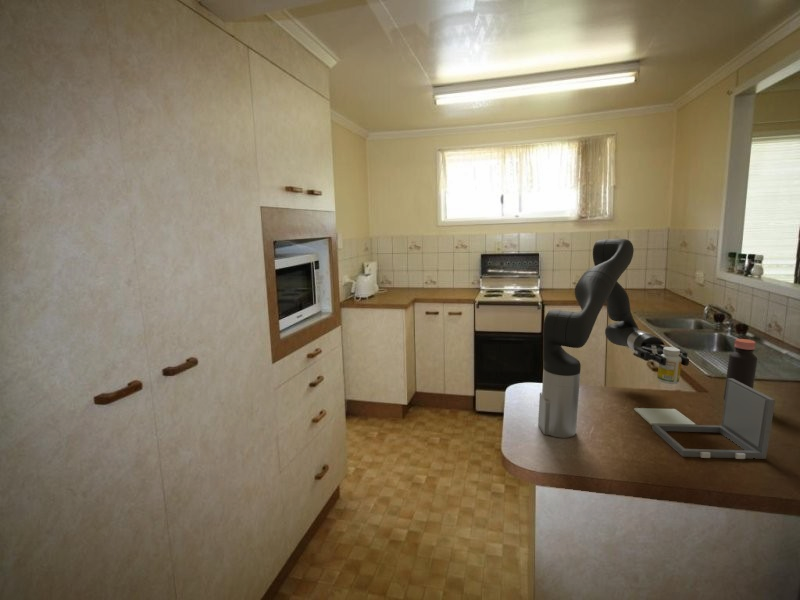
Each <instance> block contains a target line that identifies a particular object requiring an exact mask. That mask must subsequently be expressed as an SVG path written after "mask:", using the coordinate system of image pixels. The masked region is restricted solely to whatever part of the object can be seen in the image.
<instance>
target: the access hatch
mask: <svg viewBox="0 0 800 600" xmlns="http://www.w3.org/2000/svg"><path fill="white" fill-rule="evenodd" d="M775 404H776V399H774V398H772V397H770V396H769V395H767V394H764V393H762V392H761V391H759V390H757V389H755V388H754V387H753V388H751V387H749V386H747V385H745V384H743V383H741V382H739V381H737V380H735V379H733V378H728V380H727V387H726V395H725V400H724V404H723V411H722V417H721V423H720V425H712V424H710V425H709V424H703V425H702V424H696V425H675V424H653V425H651V429H652V430H653V431H654V433H656V434H657V435H658V436H659V437H660V438H661V439H662V440H663V441H665V442H666V443H667V444H668V445H669V446H670V447H671V448H673V450H675V451H676V452H677V453H678V454H679V455H680V456H681V457H683V458H684V457H687V458H701V459H703V458H704V459H711V458H716V459H717V458H719V459H720V458H721V459H726V458H727V459H737V460H745V459H753V458H755V459H756V460H757V459H758V460H760V459H762V460H766V459H767V454H768V447H769V441H770V436H771V429H772V423H773V416H774V410H775ZM667 432H681V433H682V432H684V433H685V432H688V433H690V432H691V433H692V432H693V433H718V434H721V435H722V436H723V437H725V438H726V437H727V438H726V439H728V440H729V439H730V440H729V441H731V442H732V441H733V442H734V445H736V444H737V446H738V447H739V446H740V447H739V448H741V449H738V450H737V449H709V448H708V449H704V448H703V449H702V448H701V449H700V448H685V447H684V446H682V445H681V444H680V443H679V442H678V441H677V440H676V439H675V438H673V437H672V436H671V435H670V434H669V433H667ZM733 442H732V443H733ZM743 449H744V450H743Z"/></svg>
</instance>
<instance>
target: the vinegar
mask: <svg viewBox="0 0 800 600" xmlns="http://www.w3.org/2000/svg"><path fill="white" fill-rule="evenodd" d="M734 340H735V341H734V350H733V352H731V353H729V354H728V362H727V370H726V377H725V384H724V385H725V386H724V391H723V393H724V394H723V400H724V401H725V395H726V387H727V380H728V378H733V379H735V380H737V381H739V382H741V383H743V384H745V385H747V386H749V387H751V388H753V389H754V387H755V386H754V384H755V380H756V379H755V377H756V370H757V364H758V358H757V356H756V355H755V354H754V351H755V349H756V344H757V343H756V341H754V340H752V339H746V338H736V339H734Z"/></svg>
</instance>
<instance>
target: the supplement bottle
mask: <svg viewBox="0 0 800 600" xmlns="http://www.w3.org/2000/svg"><path fill="white" fill-rule="evenodd" d="M677 348H678V347H674V346H667V347H664V348H663V353H664V354H662V355H661V356H663V357H665V358H666V365H661V364H659V363H658V367H657V369H658V370H657V377H656V379H657V380H658V382H661V383H663V384H668V385H676V384H679V383H680V377H681V376H680V375H681V369H682V364H681V363H682V359H681V357H679V356H678V355H679V354H680V350H679V349H677Z"/></svg>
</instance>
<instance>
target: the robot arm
mask: <svg viewBox="0 0 800 600" xmlns="http://www.w3.org/2000/svg"><path fill="white" fill-rule="evenodd" d="M633 257H634V245H633V243H632V242H631V240H629V239H626V238H611V239H610V238H609V239H599V240H596V242H595V243H594V245H593V248H592V260H593V264H594V266H592V267H591V268H588V269H587V270H585V272H584V273H583V274H582V275H581V277H580V278H579V279H578V281H577V282H576V284H575V287H574V296H575V299H576V301H577V304H578V305H579V308H580V311H578V312H574V311H569V310H568V311H567V310H561V309H560V310H558V309H552V310H551V309H550V310H549V311H548V312H547V313H546V315H545V317H544V320H543V325H542V326H543V327H542V328H543V329H542V341H543V342H542V361H543V370H542V389H541V391H542V392H540V393H539V401H538V403H539V404H538V420H537V421H538V422H537V425H538V427H539V428H540V430H541V432H542V434H543V435H544V436H546V435H548V436H552V437H555V438H559V439H560V438H562V439H565V438H567V439H568V438H572V437H574V436H575V435H576V434H577V425H578V424H577V423H578V408H579V394H580V382H581V370H582V369H581V366H582V364H581V362H580V360H579V359H578V358H576V357H574V356H572V354H570V353H568V352H567V351H566V350H565V349H564V348H563V347H566V348H574V349H580V348H582V347H584V346H585V345H586V344H587V342H588V340H589V338H590V336H591V334H592V331H593V328H594V326H595V323H596V320H597V319H598V316H599V315H600V312H601V311H602V309H603V306H604V305H605V303H606V309H607V314H608V318H609V319H610V320H611V321H614V323H611V324H608V325H607V326H606V328H605V329H604V330H605V331H604V334H605V337H606V338H607V341H609V342H610V343H612V344H614V345H616V346H621V347H627V348H629V349H630V350H631V351H632V352H633V354H632V355H633V356H635V357H637V358H639V359H640V360H643V361H646V362H649V361H652V362H653V363H658V365H659V364H661V365H666V358H665V357H663V356H661V355H662V354H664V353H663V348H664V347H668V346H667V345H665V342H664V341H663V339H661V338H660V337H658V336H656V335H653V334H652V333H649V332H648V331H645V330H642V329H640V328H639V327H638V324H637V323H636V321H635V319H634V318H633V315H632V311H631V304H630V298H629V294H628V292H627V291H626V290H625V289H624V286H622V285H621V284H620V283H619V282H618V281H619V279H620V277H621V276H622V274H623V273H624V272H625V271H626V270H627V269H628V267H629V266H630V264H631V263H632V260H633ZM676 348H677V349H679V350H680V354H679V355H678V356H679V357H681V359H682V363H681V366H682V365H683V366H684V367H687V366H689V364H690V358H689V357H688V352H687V351H686V350H684V349H683V348H681V347H679V346H678V347H676Z"/></svg>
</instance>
